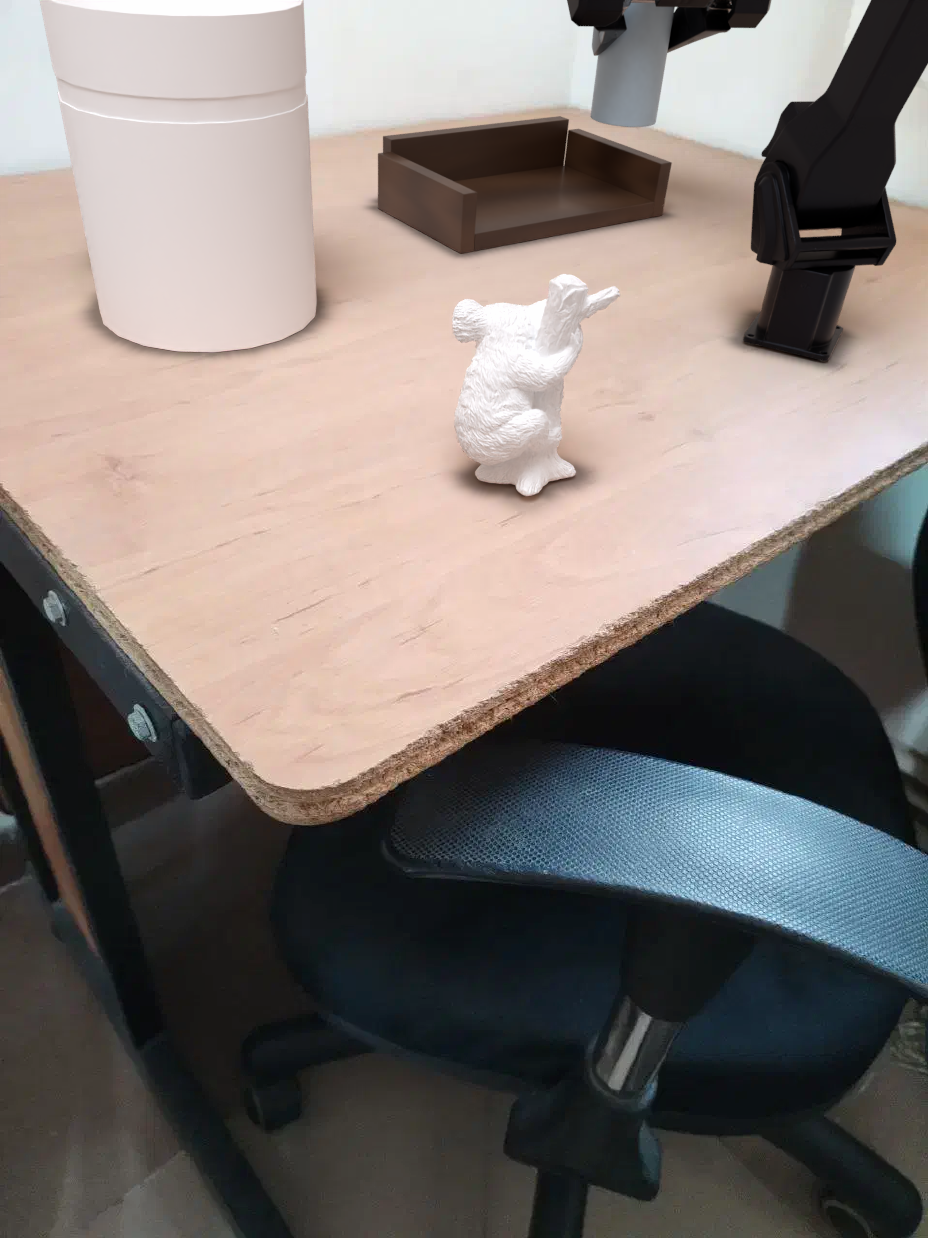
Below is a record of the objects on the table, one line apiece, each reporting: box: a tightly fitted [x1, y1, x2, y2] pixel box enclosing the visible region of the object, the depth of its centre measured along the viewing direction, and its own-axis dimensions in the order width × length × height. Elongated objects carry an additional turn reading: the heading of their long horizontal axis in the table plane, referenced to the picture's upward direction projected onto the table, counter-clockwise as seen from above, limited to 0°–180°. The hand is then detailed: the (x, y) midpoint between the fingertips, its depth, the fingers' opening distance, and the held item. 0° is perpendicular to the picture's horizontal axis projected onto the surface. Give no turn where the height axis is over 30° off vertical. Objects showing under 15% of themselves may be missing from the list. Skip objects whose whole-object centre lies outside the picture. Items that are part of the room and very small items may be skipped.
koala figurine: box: [451, 273, 621, 497], centre depth 52 cm, size 8×7×12 cm
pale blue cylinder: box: [590, 3, 676, 128], centre depth 91 cm, size 8×6×11 cm
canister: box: [39, 0, 318, 353], centre depth 66 cm, size 16×16×20 cm
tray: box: [377, 115, 673, 254], centre depth 93 cm, size 16×25×6 cm, turn 125°
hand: (626, 50), depth 91 cm, fingers closed on pale blue cylinder, 6 cm apart
